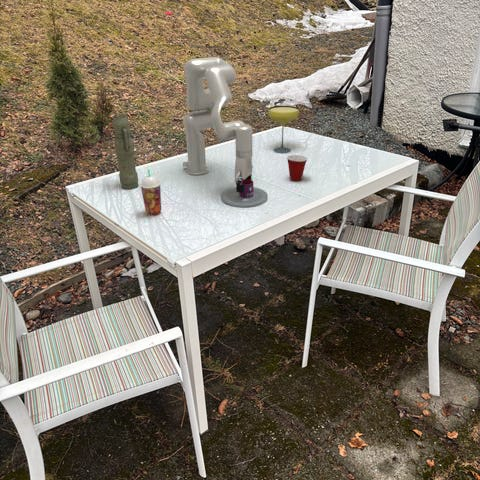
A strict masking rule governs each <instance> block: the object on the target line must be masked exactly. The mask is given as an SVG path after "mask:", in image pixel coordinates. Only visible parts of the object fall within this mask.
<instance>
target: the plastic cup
mask: <svg viewBox="0 0 480 480" xmlns="http://www.w3.org/2000/svg"><path fill="white" fill-rule="evenodd" d="M286 159H287V165H288V172H289V178H290V181H292V182H300V181H302V179H303V175H304V172H305V167H306V163H307V161H308V159H309V158H308V157H307V156H305V155H302V154H300V155H299V154H291V155H290V154H289V155H287V156H286Z"/></svg>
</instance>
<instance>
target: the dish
mask: <svg viewBox="0 0 480 480" xmlns="http://www.w3.org/2000/svg"><path fill="white" fill-rule="evenodd" d="M268 197H269V195H268V193H267V192H266V191H265V190H264V189H261V188H259V187H256V186H253V197H251V198H242V197H240V196H239V192H236V186H235V187H231V188H228V189H226V190H224V191H223V192H221V194H220V199H221V201H222V202H223V203H224V204H225V205H228V206H229V207H234V208H242V209H243V208H254V207H257V206H258V207H259V206H260V205H263V204H265V203H266V202H267V201H268V199H269V198H268Z"/></svg>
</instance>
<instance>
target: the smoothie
mask: <svg viewBox="0 0 480 480" xmlns="http://www.w3.org/2000/svg"><path fill="white" fill-rule="evenodd" d="M147 172H148V174H147V176H145V177H143V179H142V180H141V183H140V189H141V194H142V199H143V205H144V209H145V212H146V214H147V215H149V216H158V215H159V214H161V211H162V197H161V196H162V195H161V182H160V180H158V178H157V177H155V175H151V170H150V169H147Z"/></svg>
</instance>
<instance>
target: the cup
mask: <svg viewBox="0 0 480 480" xmlns="http://www.w3.org/2000/svg"><path fill="white" fill-rule="evenodd" d="M239 180H240V179H239ZM240 182H241V180H240ZM242 184H243V193H240V192H239V196H240V197H242V198H251V197H253V187H254V180H253V179H252V180H249V179H244V180H243V183H242Z"/></svg>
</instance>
